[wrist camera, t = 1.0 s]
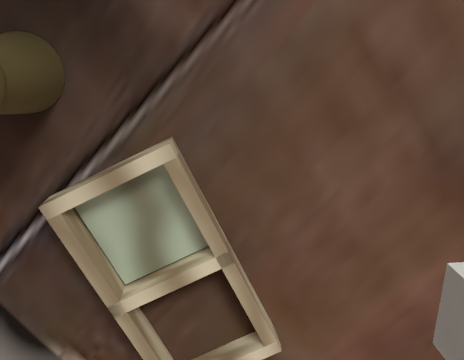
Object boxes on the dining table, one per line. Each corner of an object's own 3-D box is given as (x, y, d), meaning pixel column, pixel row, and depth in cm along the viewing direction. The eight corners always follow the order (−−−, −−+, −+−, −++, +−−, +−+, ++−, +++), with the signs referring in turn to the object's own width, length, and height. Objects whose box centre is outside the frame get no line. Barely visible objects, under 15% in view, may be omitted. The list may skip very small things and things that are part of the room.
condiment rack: (172, 379, 40) (171, 399, 38) (49, 196, 34) (38, 207, 31) (277, 332, 39) (281, 350, 37) (172, 136, 33) (169, 143, 30)
